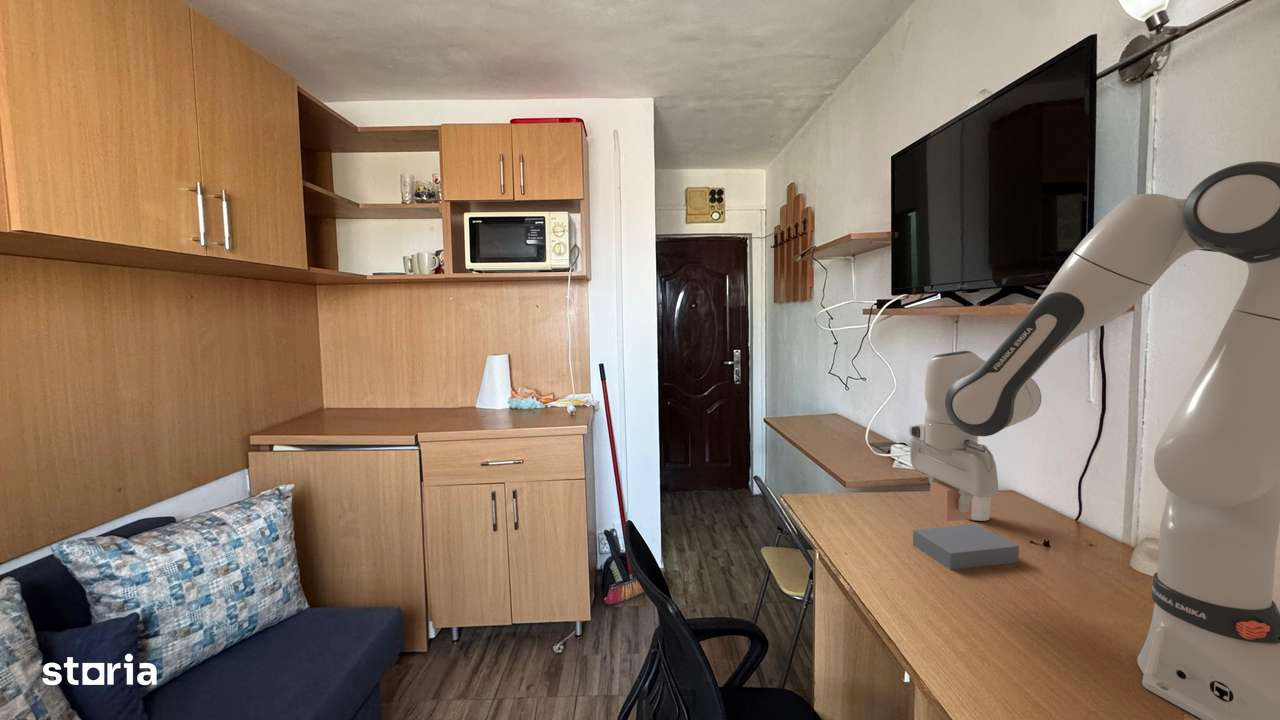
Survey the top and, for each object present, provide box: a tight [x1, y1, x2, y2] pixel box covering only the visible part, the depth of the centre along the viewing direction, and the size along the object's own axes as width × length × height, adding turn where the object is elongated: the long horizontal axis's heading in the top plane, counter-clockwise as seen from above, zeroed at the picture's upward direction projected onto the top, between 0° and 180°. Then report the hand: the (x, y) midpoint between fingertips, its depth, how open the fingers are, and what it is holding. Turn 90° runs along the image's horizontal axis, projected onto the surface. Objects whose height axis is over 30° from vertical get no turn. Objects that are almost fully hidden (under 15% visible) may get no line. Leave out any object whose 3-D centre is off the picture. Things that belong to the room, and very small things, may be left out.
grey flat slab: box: [912, 523, 1020, 571], centre depth 118 cm, size 12×16×4 cm
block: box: [929, 481, 972, 522], centre depth 104 cm, size 5×5×6 cm
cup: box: [970, 496, 992, 522], centre depth 136 cm, size 8×8×14 cm
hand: (950, 504), depth 104 cm, fingers closed on block, 5 cm apart
